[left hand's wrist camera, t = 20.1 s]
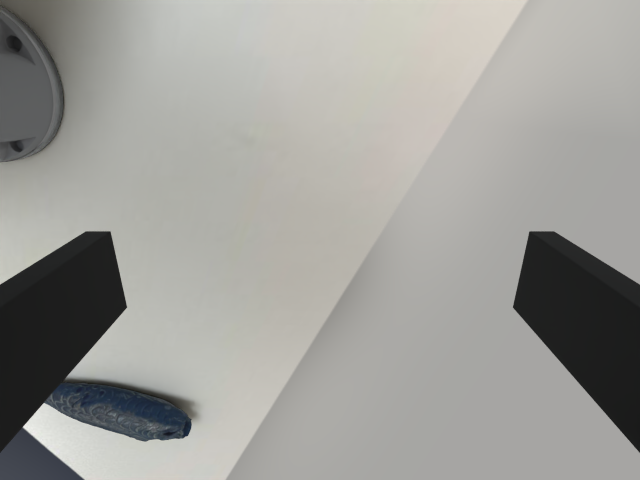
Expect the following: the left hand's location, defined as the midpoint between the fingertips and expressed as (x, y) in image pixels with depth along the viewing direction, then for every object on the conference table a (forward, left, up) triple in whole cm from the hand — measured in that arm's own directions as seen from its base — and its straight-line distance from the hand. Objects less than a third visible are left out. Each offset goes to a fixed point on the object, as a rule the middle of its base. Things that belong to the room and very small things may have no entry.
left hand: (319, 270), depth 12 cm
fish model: (-41, +18, -31) cm, 54 cm away
